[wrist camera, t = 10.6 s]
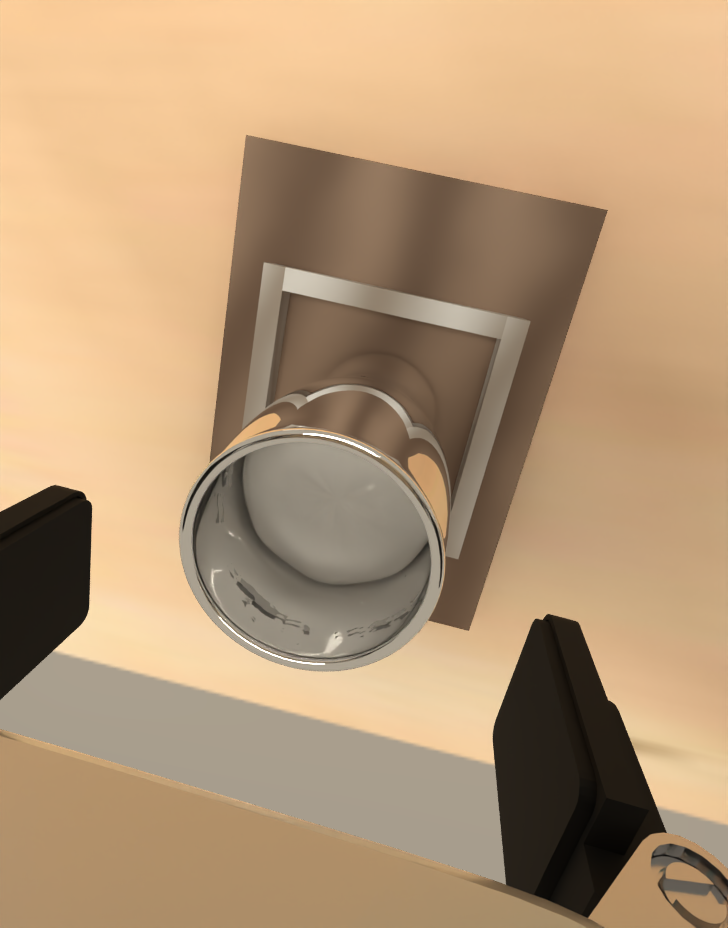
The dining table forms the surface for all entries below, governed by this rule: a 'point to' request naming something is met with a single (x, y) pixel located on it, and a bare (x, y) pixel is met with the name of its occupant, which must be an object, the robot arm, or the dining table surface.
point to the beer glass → (325, 520)
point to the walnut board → (406, 313)
